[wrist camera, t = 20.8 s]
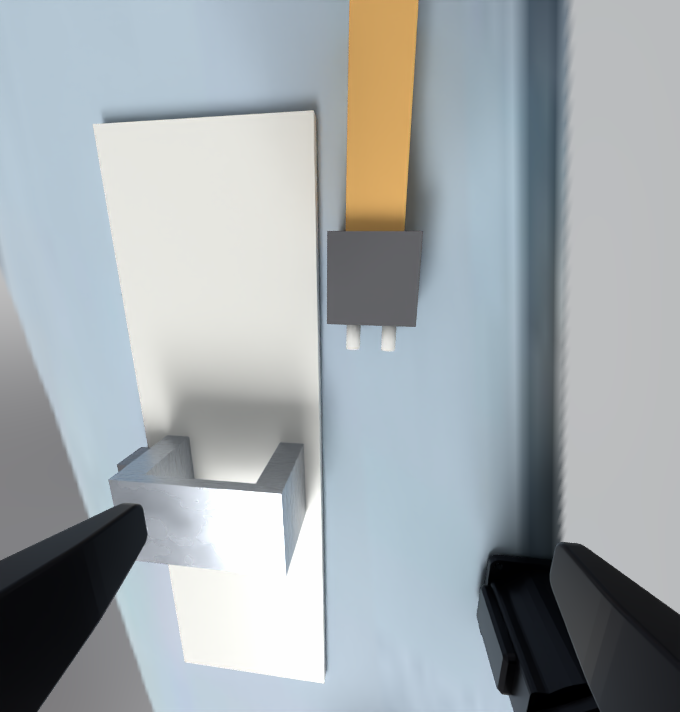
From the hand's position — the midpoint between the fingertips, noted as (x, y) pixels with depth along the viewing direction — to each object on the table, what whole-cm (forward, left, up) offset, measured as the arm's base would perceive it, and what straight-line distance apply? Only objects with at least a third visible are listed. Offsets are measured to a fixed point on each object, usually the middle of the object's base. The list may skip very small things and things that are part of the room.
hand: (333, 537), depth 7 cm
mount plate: (+8, +6, -12) cm, 16 cm away
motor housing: (+8, +7, -11) cm, 16 cm away
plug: (-1, -9, -12) cm, 15 cm away
